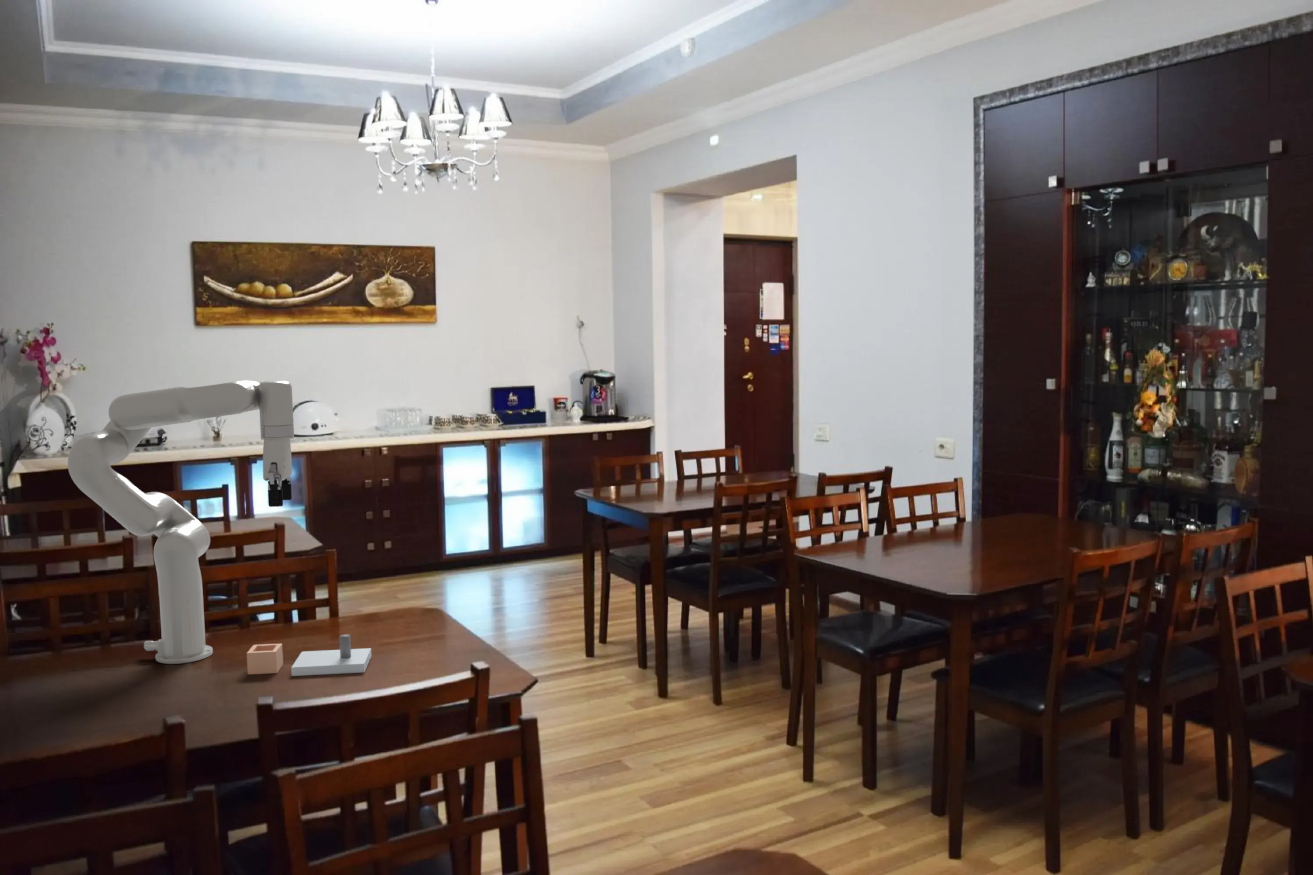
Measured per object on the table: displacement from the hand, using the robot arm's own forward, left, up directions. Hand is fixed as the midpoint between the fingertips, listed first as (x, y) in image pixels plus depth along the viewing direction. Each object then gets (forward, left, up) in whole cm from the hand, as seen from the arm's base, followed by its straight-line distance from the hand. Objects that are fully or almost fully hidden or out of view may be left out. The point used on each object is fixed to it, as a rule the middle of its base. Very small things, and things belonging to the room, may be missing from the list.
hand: (280, 503), depth 250 cm
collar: (-2, -14, -36) cm, 39 cm away
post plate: (+13, -14, -36) cm, 41 cm away
